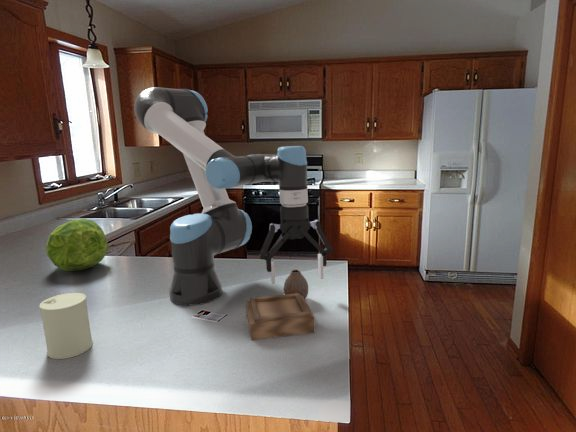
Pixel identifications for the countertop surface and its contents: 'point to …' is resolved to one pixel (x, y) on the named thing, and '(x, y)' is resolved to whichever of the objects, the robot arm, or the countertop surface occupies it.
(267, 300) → the brown wooden flat box
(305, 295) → the vase
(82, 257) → the lettuce
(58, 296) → the can
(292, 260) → the countertop surface
